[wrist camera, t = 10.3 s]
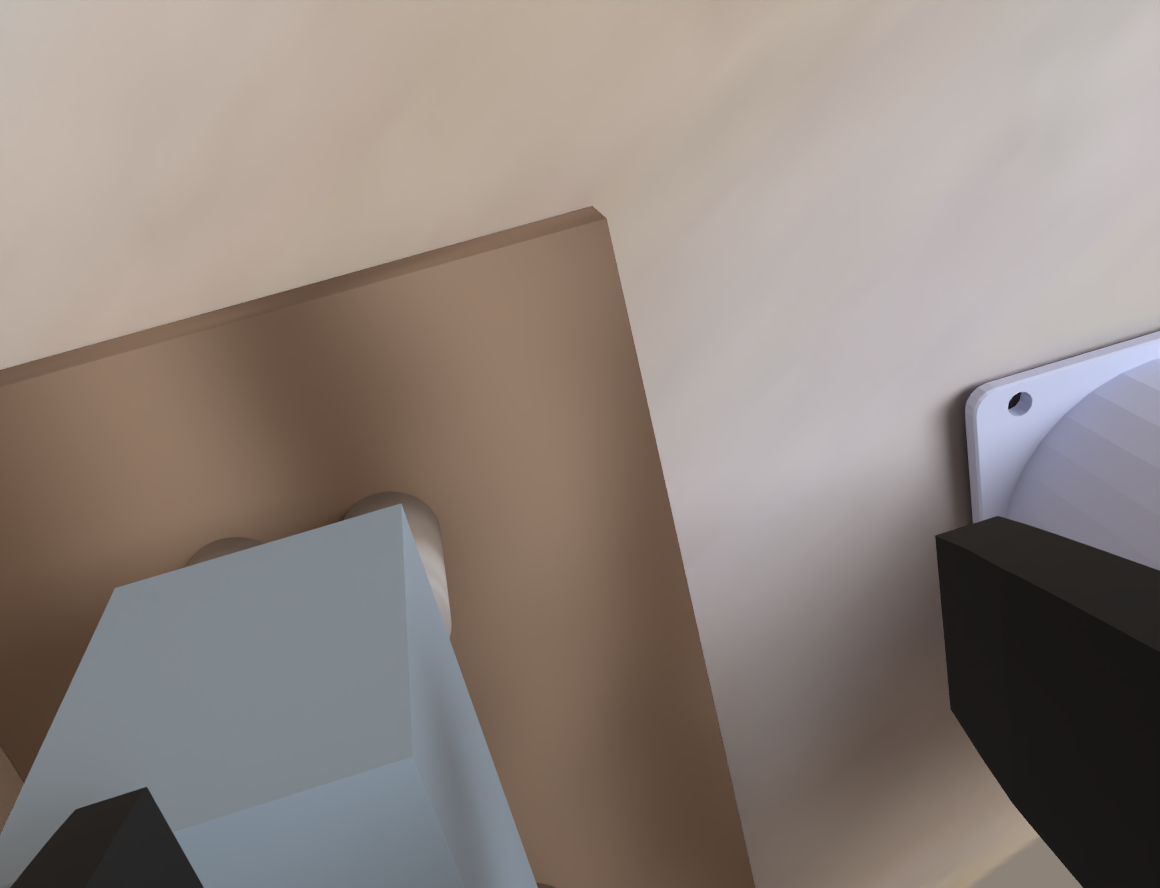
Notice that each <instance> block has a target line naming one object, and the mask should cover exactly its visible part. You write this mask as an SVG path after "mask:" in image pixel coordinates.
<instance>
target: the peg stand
mask: <svg viewBox="0 0 1160 888" xmlns="http://www.w3.org/2000/svg"><path fill="white" fill-rule="evenodd" d="M397 504H402V507H403V510H404V513H405V515H406V518H407V521H408V524H409V527H410V529H411V532H412V535H413V538H414V541H415V543H416V546H417V549H418V552H419V555H420V558H421V560H422V563H423V566H424V569H425V572H426V574H427V577H428V580H429V583H430V586H431V588H432V591H433V594H434V597H435V600H436V603H437V605H438V608H439V611H440V614H441V617H442V619H443V622H444V625H445V628H446V631H447V633H448V636H449V639H450V642H451V645H452V648H453V650H454V653H455V656H456V659H457V662H458V664H459V667H460V670H461V673H462V676H463V678H464V681H465V684H466V687H467V690H468V693H469V695H470V698H471V701H472V704H473V707H474V709H475V712H476V715H477V718H478V721H479V723H480V726H481V729H482V732H483V735H484V738H485V740H486V743H487V746H488V749H489V752H490V754H491V757H492V760H493V763H494V766H495V769H496V771H497V774H498V777H499V780H500V783H501V785H502V788H503V791H504V794H505V797H506V799H507V802H508V805H509V808H510V811H511V814H512V816H513V819H514V822H515V825H516V828H517V830H518V833H519V836H520V839H521V842H522V844H523V847H524V850H525V853H526V856H527V859H528V861H529V864H530V867H531V870H532V873H533V875H534V878H535V881H536V884H537V887H538V888H755V885H754V881H753V876H752V872H751V867H750V863H749V858H748V854H747V849H746V845H745V840H744V836H743V831H742V827H741V822H740V818H739V813H738V809H737V804H736V800H735V795H734V791H733V786H732V782H731V777H730V773H729V768H728V764H727V759H726V755H725V750H724V746H723V741H722V737H721V732H720V728H719V723H718V719H717V714H716V710H715V705H714V701H713V696H712V692H711V687H710V683H709V678H708V674H707V669H706V665H705V660H704V656H703V651H702V647H701V642H700V638H699V633H698V629H697V624H696V620H695V615H694V611H693V606H692V602H691V597H690V593H689V588H688V584H687V579H686V575H685V570H684V566H683V561H682V557H681V552H680V548H679V543H678V539H677V534H676V530H675V525H674V521H673V516H672V512H671V507H670V503H669V498H668V494H667V489H666V485H665V480H664V476H663V471H662V467H661V462H660V458H659V453H658V449H657V444H656V440H655V435H654V431H653V426H652V422H651V417H650V413H649V408H648V404H647V399H646V394H645V390H644V385H643V381H642V376H641V372H640V367H639V363H638V358H637V354H636V349H635V345H634V340H633V336H632V331H631V327H630V322H629V318H628V313H627V309H626V304H625V300H624V295H623V291H622V286H621V282H620V277H619V273H618V268H617V264H616V259H615V255H614V250H613V246H612V241H611V237H610V232H609V228H608V223H607V219H606V218H605V217H604V216H603V215H602V214H601V213H600V212H598V211H597V210H596V209H595V208H594V207H593V206H591V207H587V208H584V209H580V210H577V211H573V212H569V213H566V214H562V215H559V216H555V217H551V218H548V219H544V220H541V221H537V222H533V223H530V224H526V225H523V226H519V227H515V228H512V229H508V230H504V231H501V232H497V233H494V234H490V235H486V236H483V237H479V238H476V239H472V240H468V241H465V242H461V243H458V244H454V245H450V246H447V247H443V248H440V249H436V250H432V251H429V252H425V253H422V254H418V255H414V256H411V257H407V258H403V259H400V260H396V261H393V262H389V263H385V264H382V265H378V266H375V267H371V268H367V269H364V270H360V271H357V272H353V273H349V274H346V275H342V276H339V277H335V278H331V279H328V280H324V281H320V282H317V283H313V284H310V285H306V286H302V287H299V288H295V289H292V290H288V291H284V292H281V293H277V294H274V295H270V296H266V297H263V298H259V299H256V300H252V301H248V302H245V303H241V304H238V305H234V306H230V307H227V308H223V309H219V310H216V311H212V312H209V313H205V314H201V315H198V316H194V317H191V318H187V319H183V320H180V321H176V322H173V323H169V324H165V325H162V326H158V327H155V328H151V329H147V330H144V331H140V332H136V333H133V334H129V335H126V336H122V337H118V338H115V339H111V340H108V341H104V342H100V343H97V344H93V345H90V346H86V347H82V348H79V349H75V350H72V351H68V352H64V353H61V354H57V355H53V356H50V357H46V358H43V359H39V360H35V361H32V362H28V363H25V364H21V365H17V366H14V367H10V368H7V369H3V370H0V746H1V747H2V749H3V750H4V752H5V753H6V755H7V757H8V758H9V760H10V761H11V763H12V765H13V766H14V768H15V769H16V771H17V773H18V774H19V776H20V777H21V779H22V781H23V782H24V783H25V781H26V778H27V776H28V774H29V772H30V770H31V768H32V766H33V763H34V761H35V759H36V757H37V755H38V753H39V750H40V748H41V746H42V744H43V742H44V740H45V738H46V735H47V733H48V731H49V729H50V727H51V725H52V723H53V720H54V718H55V716H56V714H57V712H58V710H59V707H60V705H61V703H62V701H63V699H64V697H65V695H66V692H67V690H68V688H69V686H70V684H71V682H72V679H73V677H74V675H75V673H76V671H77V669H78V667H79V664H80V662H81V660H82V658H83V656H84V654H85V652H86V649H87V647H88V645H89V643H90V641H91V639H92V636H93V634H94V632H95V630H96V628H97V626H98V624H99V621H100V619H101V617H102V615H103V613H104V611H105V609H106V606H107V604H108V602H109V600H110V598H111V596H112V593H113V591H114V589H115V588H117V587H121V586H124V585H127V584H131V583H134V582H137V581H141V580H144V579H148V578H151V577H154V576H158V575H161V574H164V573H168V572H171V571H175V570H178V569H181V568H185V567H188V566H191V565H195V564H198V563H202V562H205V561H208V560H212V559H215V558H218V557H222V556H225V555H229V554H232V553H235V552H239V551H242V550H245V549H249V548H252V547H256V546H259V545H262V544H266V543H269V542H272V541H276V540H279V539H283V538H286V537H289V536H293V535H296V534H299V533H303V532H306V531H310V530H313V529H316V528H320V527H323V526H326V525H330V524H333V523H337V522H340V521H343V520H347V519H350V518H353V517H357V516H360V515H364V514H367V513H370V512H374V511H377V510H380V509H384V508H387V507H391V506H394V505H397Z"/></svg>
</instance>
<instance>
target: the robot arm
mask: <svg viewBox="0 0 1160 888" xmlns="http://www.w3.org/2000/svg"><path fill="white" fill-rule="evenodd" d="M1019 392H1021V396H1020V400H1019V402H1018V403H1017V404H1016V406H1014V407H1012V408H1011V409H1008V405H1009V401H1010V400H1011V398H1012V397H1013V396H1014V395H1016V394H1017V393H1019ZM965 420H966V434H967V448H968V462H969V475H970V489H971V503H972V516H973V524H970V525H967V526H964V527H961V528H958V529H955V530H951V531H948V532H945V533H942V534H939V535H936V536H935V538H936V549H937V560H938V571H939V583H940V594H941V605H942V616H943V628H944V639H945V650H946V662H947V673H948V684H949V695H950V707H951V710H952V712H953V713H954V715H955V717H956V718H957V720H958V721H959V723H960V724H961V726H962V728H963V729H964V731H965V732H966V734H967V735H968V737H969V738H970V740H971V742H972V743H973V745H974V746H975V748H976V749H977V751H978V753H979V754H980V756H981V757H982V759H983V760H984V762H985V763H986V765H987V766H988V768H989V769H990V771H991V772H992V774H993V775H994V777H995V778H996V779H997V781H998V782H999V784H1000V785H1001V787H1002V788H1003V790H1004V791H1005V793H1006V794H1007V796H1008V797H1009V799H1010V800H1011V802H1012V803H1013V804H1014V806H1015V807H1016V808H1017V809H1018V810H1019V812H1020V813H1021V814H1022V815H1023V816H1024V818H1025V819H1026V820H1027V821H1028V823H1029V824H1030V825H1031V826H1032V827H1033V829H1034V830H1035V831H1036V832H1037V833H1038V835H1039V836H1040V837H1041V838H1042V839H1043V840H1044V842H1045V843H1046V844H1047V845H1048V846H1049V848H1050V849H1051V850H1052V851H1053V852H1054V853H1055V855H1056V856H1057V857H1058V858H1059V859H1060V861H1061V862H1062V863H1063V864H1064V865H1065V867H1066V868H1067V869H1068V870H1069V871H1070V873H1071V874H1072V875H1073V876H1074V877H1075V878H1076V880H1077V881H1078V882H1079V883H1080V884H1081V886H1082V887H1083V888H1160V331H1158V332H1155V333H1151V334H1148V335H1145V336H1141V337H1138V338H1135V339H1131V340H1128V341H1125V342H1121V343H1118V344H1115V345H1111V346H1108V347H1104V348H1101V349H1098V350H1094V351H1091V352H1088V353H1084V354H1081V355H1078V356H1074V357H1071V358H1068V359H1064V360H1061V361H1058V362H1054V363H1051V364H1048V365H1044V366H1041V367H1038V368H1034V369H1031V370H1028V371H1024V372H1021V373H1018V374H1014V375H1011V376H1008V377H1004V378H1001V379H998V380H994V381H991V382H988V383H985V384H983V385H981V386H979V387H977V388H976V389H975V390H974V391H973V392H972V393H971V394H970V396H969V398H968V400H967V402H966V407H965ZM10 888H204V887H203V885H202V883H201V882H200V880H199V878H198V876H197V875H196V873H195V871H194V869H193V867H192V866H191V864H190V862H189V860H188V859H187V857H186V855H185V853H184V852H183V850H182V848H181V846H180V844H179V843H178V841H177V839H176V837H175V836H174V834H173V832H172V830H171V828H170V827H169V825H168V823H167V821H166V820H165V818H164V816H163V814H162V812H161V811H160V809H159V807H158V805H157V804H156V802H155V800H154V798H153V797H152V795H151V793H150V791H149V789H148V788H147V787H144V788H141V789H138V790H135V791H132V792H128V793H125V794H122V795H119V796H116V797H113V798H110V799H106V800H103V801H100V802H97V803H94V804H91V805H88V806H84V807H81V808H78V809H75V810H74V812H73V813H72V814H71V815H70V816H69V817H68V818H67V819H66V821H65V822H64V823H63V824H62V825H61V826H60V827H59V828H58V830H57V831H56V832H55V833H54V834H53V835H52V837H51V838H50V839H49V840H48V841H47V843H46V844H45V845H44V846H43V847H42V849H41V850H40V851H39V852H38V854H37V855H36V856H35V857H34V859H33V860H32V861H31V862H30V863H29V865H28V866H27V867H26V868H25V870H24V871H23V872H22V873H21V875H20V876H19V877H18V878H17V880H16V881H15V882H14V884H13V885H12V886H11V887H10Z"/></svg>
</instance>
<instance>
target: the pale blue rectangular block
mask: <svg viewBox="0 0 1160 888" xmlns="http://www.w3.org/2000/svg"><path fill="white" fill-rule="evenodd" d="M144 787H147V788H148V789H149V791H150V793H151V795H152V797H153V798H154V800H155V802H156V804H157V805H158V807H159V809H160V811H161V812H162V814H163V816H164V818H165V820H166V821H167V823H168V825H169V827H170V828H171V830H172V832H173V834H174V836H175V837H176V839H177V841H178V843H179V844H180V846H181V848H182V850H183V852H184V853H185V855H186V857H187V859H188V860H189V862H190V864H191V866H192V867H193V869H194V871H195V873H196V875H197V876H198V878H199V880H200V882H201V883H202V885H203V887H204V888H538V887H537V884H536V881H535V878H534V875H533V873H532V870H531V867H530V864H529V861H528V859H527V856H526V853H525V850H524V847H523V844H522V842H521V839H520V836H519V833H518V830H517V828H516V825H515V822H514V819H513V816H512V814H511V811H510V808H509V805H508V802H507V799H506V797H505V794H504V791H503V788H502V785H501V783H500V780H499V777H498V774H497V771H496V769H495V766H494V763H493V760H492V757H491V754H490V752H489V749H488V746H487V743H486V740H485V738H484V735H483V732H482V729H481V726H480V723H479V721H478V718H477V715H476V712H475V709H474V707H473V704H472V701H471V698H470V695H469V693H468V690H467V687H466V684H465V681H464V678H463V676H462V673H461V670H460V667H459V664H458V662H457V659H456V656H455V653H454V650H453V648H452V645H451V642H450V639H449V636H448V633H447V631H446V628H445V625H444V622H443V619H442V617H441V614H440V611H439V608H438V605H437V603H436V600H435V597H434V594H433V591H432V588H431V586H430V583H429V580H428V577H427V574H426V572H425V569H424V566H423V563H422V560H421V558H420V555H419V552H418V549H417V546H416V543H415V541H414V538H413V535H412V532H411V529H410V527H409V524H408V521H407V518H406V515H405V513H404V510H403V507H402V504H397V505H394V506H391V507H387V508H384V509H380V510H377V511H374V512H370V513H367V514H364V515H360V516H357V517H353V518H350V519H347V520H343V521H340V522H337V523H333V524H330V525H326V526H323V527H320V528H316V529H313V530H310V531H306V532H303V533H299V534H296V535H293V536H289V537H286V538H283V539H279V540H276V541H272V542H269V543H266V544H262V545H259V546H256V547H252V548H249V549H245V550H242V551H239V552H235V553H232V554H229V555H225V556H222V557H218V558H215V559H212V560H208V561H205V562H202V563H198V564H195V565H191V566H188V567H185V568H181V569H178V570H175V571H171V572H168V573H164V574H161V575H158V576H154V577H151V578H148V579H144V580H141V581H137V582H134V583H131V584H127V585H124V586H121V587H117V588H115V589H114V591H113V593H112V596H111V598H110V600H109V602H108V604H107V606H106V609H105V611H104V613H103V615H102V617H101V619H100V621H99V624H98V626H97V628H96V630H95V632H94V634H93V636H92V639H91V641H90V643H89V645H88V647H87V649H86V652H85V654H84V656H83V658H82V660H81V662H80V664H79V667H78V669H77V671H76V673H75V675H74V677H73V679H72V682H71V684H70V686H69V688H68V690H67V692H66V695H65V697H64V699H63V701H62V703H61V705H60V707H59V710H58V712H57V714H56V716H55V718H54V720H53V723H52V725H51V727H50V729H49V731H48V733H47V735H46V738H45V740H44V742H43V744H42V746H41V748H40V750H39V753H38V755H37V757H36V759H35V761H34V763H33V766H32V768H31V770H30V772H29V774H28V776H27V778H26V781H25V783H24V785H23V787H22V789H21V791H20V793H19V796H18V798H17V800H16V802H15V804H14V806H13V809H12V811H11V813H10V815H9V817H8V819H7V821H6V824H5V826H4V828H3V830H2V832H1V834H0V888H10V887H11V886H12V885H13V884H14V882H15V881H16V880H17V878H18V877H19V876H20V875H21V873H22V872H23V871H24V870H25V868H26V867H27V866H28V865H29V863H30V862H31V861H32V860H33V859H34V857H35V856H36V855H37V854H38V852H39V851H40V850H41V849H42V847H43V846H44V845H45V844H46V843H47V841H48V840H49V839H50V838H51V837H52V835H53V834H54V833H55V832H56V831H57V830H58V828H59V827H60V826H61V825H62V824H63V823H64V822H65V821H66V819H67V818H68V817H69V816H70V815H71V814H72V813H73V812H74V810H75V809H78V808H81V807H84V806H88V805H91V804H94V803H97V802H100V801H103V800H106V799H110V798H113V797H116V796H119V795H122V794H125V793H128V792H132V791H135V790H138V789H141V788H144Z"/></svg>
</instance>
